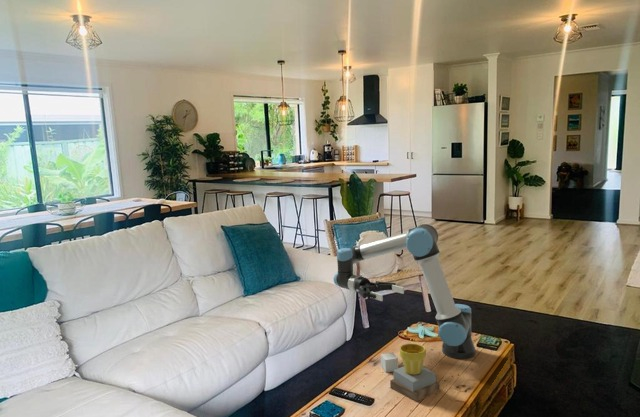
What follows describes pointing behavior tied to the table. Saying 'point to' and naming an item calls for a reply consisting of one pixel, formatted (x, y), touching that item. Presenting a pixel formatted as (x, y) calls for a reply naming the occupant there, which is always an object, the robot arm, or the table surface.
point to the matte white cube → (389, 362)
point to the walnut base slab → (416, 394)
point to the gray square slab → (414, 378)
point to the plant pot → (412, 358)
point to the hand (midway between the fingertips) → (393, 294)
